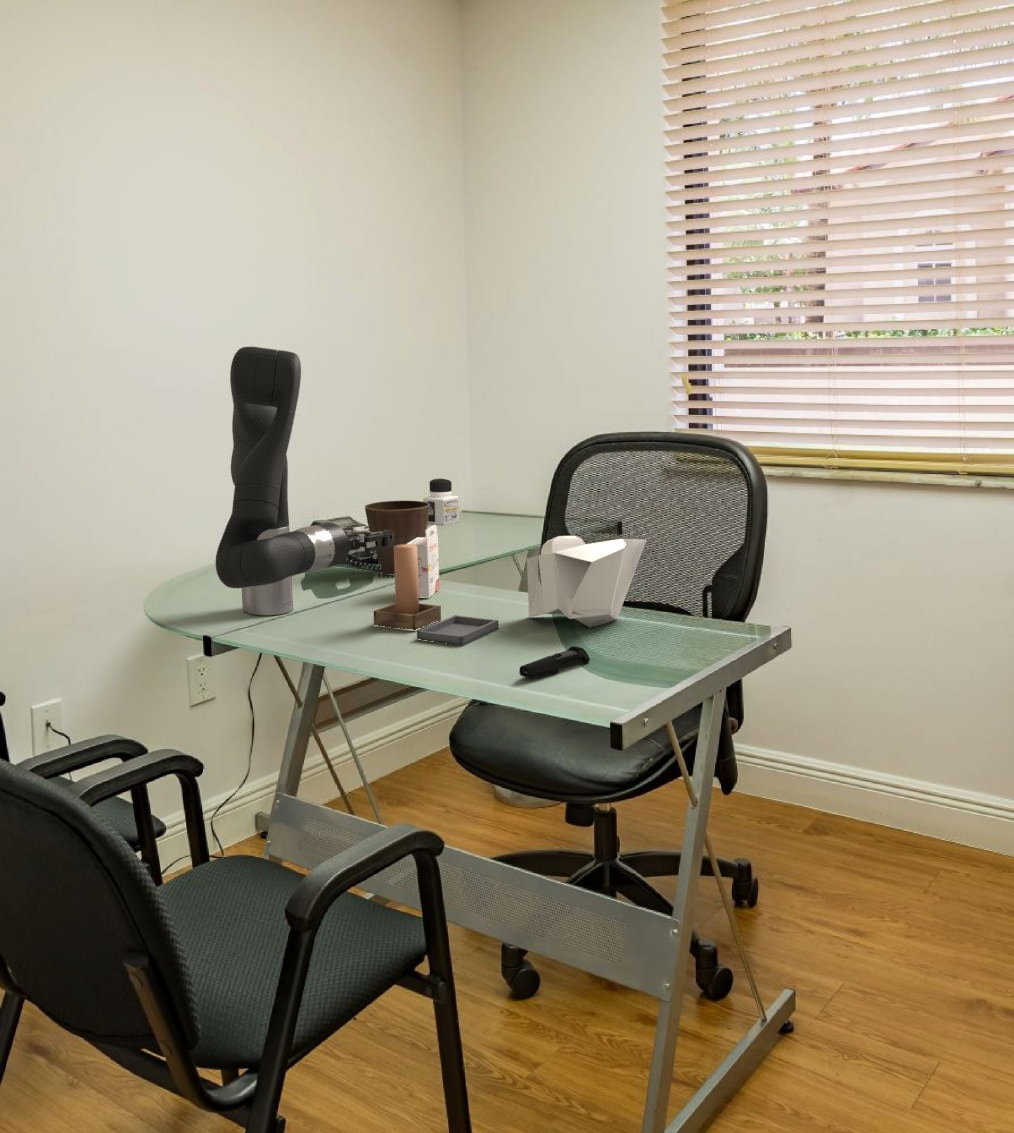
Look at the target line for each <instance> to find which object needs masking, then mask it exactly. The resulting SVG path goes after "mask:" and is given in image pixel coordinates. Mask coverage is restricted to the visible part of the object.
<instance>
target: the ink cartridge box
mask: <svg viewBox="0 0 1014 1133" xmlns="http://www.w3.org/2000/svg"><path fill="white" fill-rule="evenodd" d="M437 529H438V528H437V524H432V525H431V526H430V527H427V529H426V530H425V534H426V537H425V538H422V537H417V538H415V539H414V540H412V541H411V542H409V543H407V544H411V545H417V557H418V592H419V597H421V596H422V597H430V596H431V595H433V593H435V592H436V591H437V590H439V591H440V564H439V536H438V530H437ZM431 533H432V534H431ZM435 594H436V593H435ZM433 596H434V595H433Z"/></svg>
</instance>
